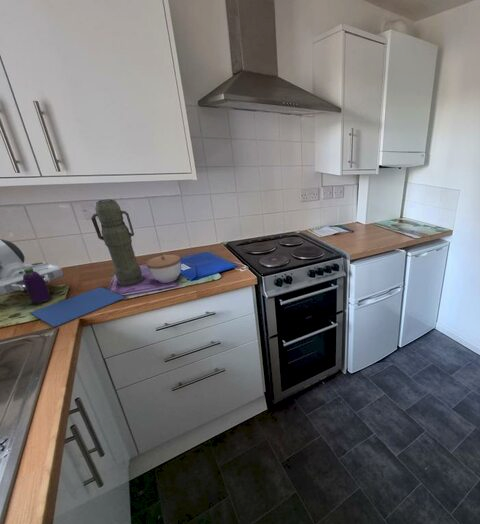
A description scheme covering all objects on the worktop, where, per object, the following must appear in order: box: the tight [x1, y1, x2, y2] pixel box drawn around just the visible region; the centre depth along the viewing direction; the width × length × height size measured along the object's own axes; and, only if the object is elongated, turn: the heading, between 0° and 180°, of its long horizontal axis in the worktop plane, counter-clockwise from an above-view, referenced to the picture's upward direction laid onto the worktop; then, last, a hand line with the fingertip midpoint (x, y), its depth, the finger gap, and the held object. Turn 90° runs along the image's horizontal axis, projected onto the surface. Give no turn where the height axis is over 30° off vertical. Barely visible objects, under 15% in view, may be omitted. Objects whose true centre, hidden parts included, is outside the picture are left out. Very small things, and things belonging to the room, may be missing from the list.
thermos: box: [90, 198, 144, 287], centre depth 122 cm, size 9×12×35 cm
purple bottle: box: [22, 268, 52, 304], centre depth 111 cm, size 5×5×12 cm
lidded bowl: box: [145, 254, 182, 284], centre depth 129 cm, size 13×13×11 cm
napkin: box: [30, 286, 126, 328], centre depth 111 cm, size 22×18×1 cm
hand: (36, 284), depth 111 cm, fingers closed on purple bottle, 5 cm apart
